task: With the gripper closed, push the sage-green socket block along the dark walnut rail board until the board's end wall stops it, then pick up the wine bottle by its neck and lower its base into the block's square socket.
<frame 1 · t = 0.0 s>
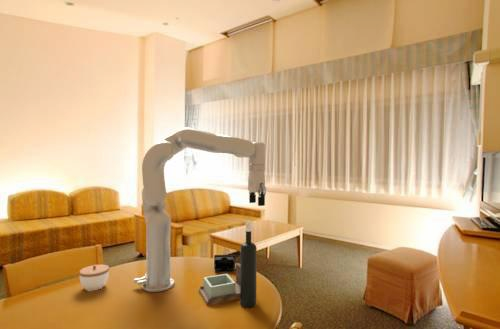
hand: (256, 204, 139), 31 cm above the table, fingers open, 9 cm apart
socket block: (219, 285, 113), point 3 cm above the table, slide at 0.0 cm
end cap: (224, 270, 139), on the table
wine bottle: (248, 304, 106), on the table
rail board: (224, 293, 113), on the table
lidded jar: (94, 288, 118), on the table
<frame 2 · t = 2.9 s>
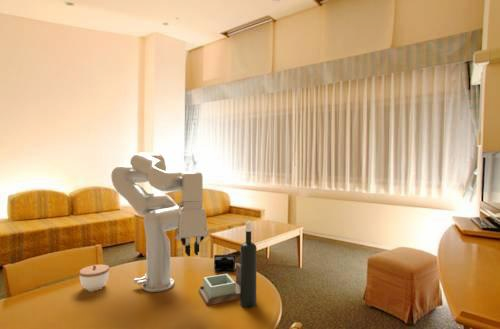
hand: (192, 254, 108), 17 cm above the table, fingers closed
nothing on the table moved.
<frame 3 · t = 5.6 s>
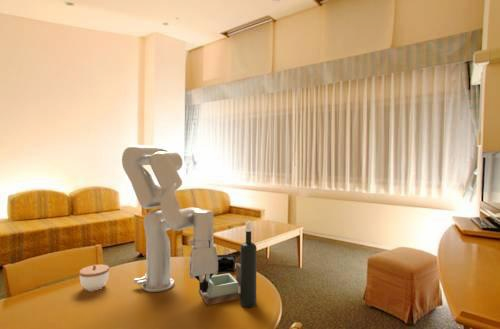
hand: (203, 291, 110), 3 cm above the table, fingers closed
socket block: (221, 285, 113), point 3 cm above the table, slide at 1.0 cm, touching gripper
everything else where it was.
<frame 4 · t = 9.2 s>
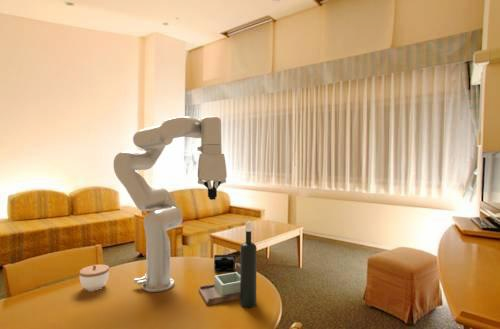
hand: (212, 199, 109), 38 cm above the table, fingers closed
socket block: (229, 283, 114), point 3 cm above the table, slide at 4.4 cm, touching rail board
everything else where it was.
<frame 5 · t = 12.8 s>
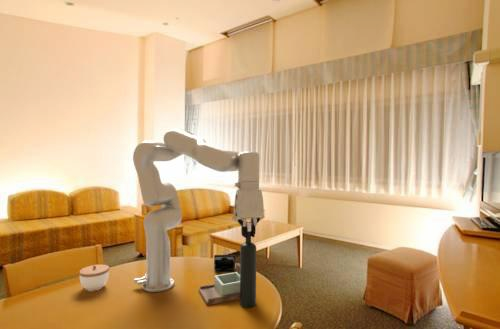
hand: (248, 236, 105), 25 cm above the table, fingers closed on wine bottle
wine bottle: (248, 304, 106), on the table, touching gripper
everything else where it was.
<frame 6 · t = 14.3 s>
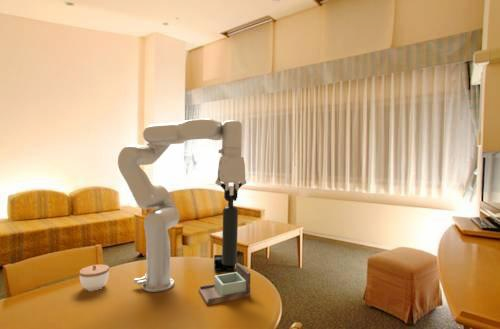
hand: (230, 200, 113), 37 cm above the table, fingers closed on wine bottle
wine bottle: (229, 263, 114), point 12 cm above the table, touching gripper
everything else where it was.
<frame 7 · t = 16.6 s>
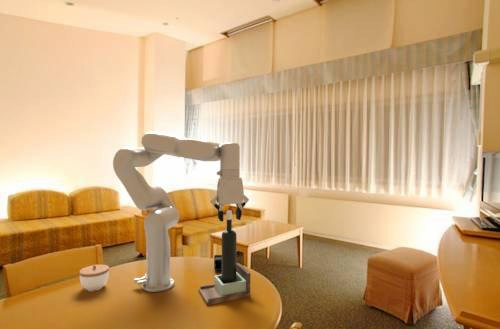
hand: (229, 219, 114), 29 cm above the table, fingers open, 6 cm apart
socket block: (229, 283, 114), point 3 cm above the table, slide at 4.4 cm, touching wine bottle
wine bottle: (228, 287, 114), point 2 cm above the table, touching socket block
everything else where it was.
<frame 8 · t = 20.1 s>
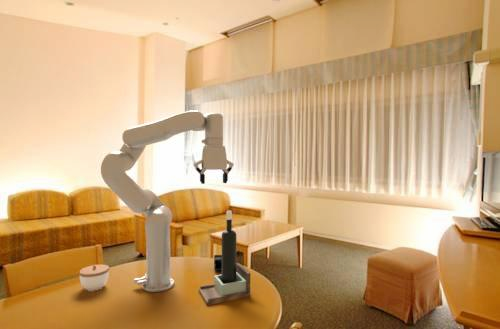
hand: (214, 183, 124), 42 cm above the table, fingers open, 9 cm apart
nothing on the table moved.
at the end: wine bottle 0.3 cm off-centre on the socket block, point 0.9 cm above the socket block's base; wine bottle touching socket block; wine bottle tilted 0° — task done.
